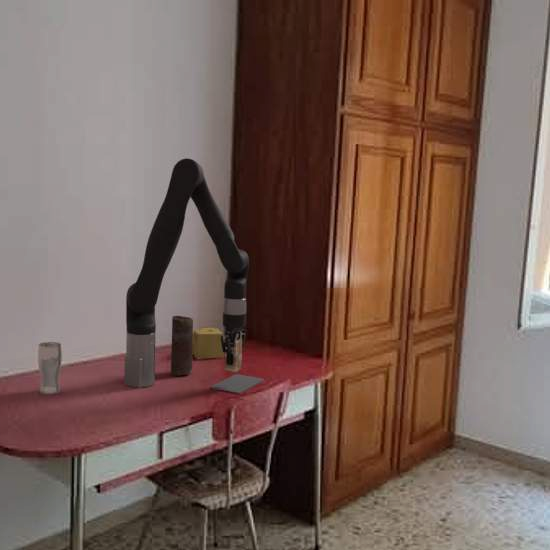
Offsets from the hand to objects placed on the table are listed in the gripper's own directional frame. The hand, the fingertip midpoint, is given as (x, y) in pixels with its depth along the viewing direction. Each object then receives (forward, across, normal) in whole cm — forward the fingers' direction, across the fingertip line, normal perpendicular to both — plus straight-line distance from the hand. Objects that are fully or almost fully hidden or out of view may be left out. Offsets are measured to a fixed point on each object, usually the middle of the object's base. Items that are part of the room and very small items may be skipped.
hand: (233, 362), depth 233 cm
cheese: (+8, +30, +27) cm, 41 cm away
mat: (+8, +4, 0) cm, 9 cm away
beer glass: (+8, -35, +45) cm, 58 cm away
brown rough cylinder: (+8, +4, +22) cm, 24 cm away
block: (+2, 0, 0) cm, 2 cm away
